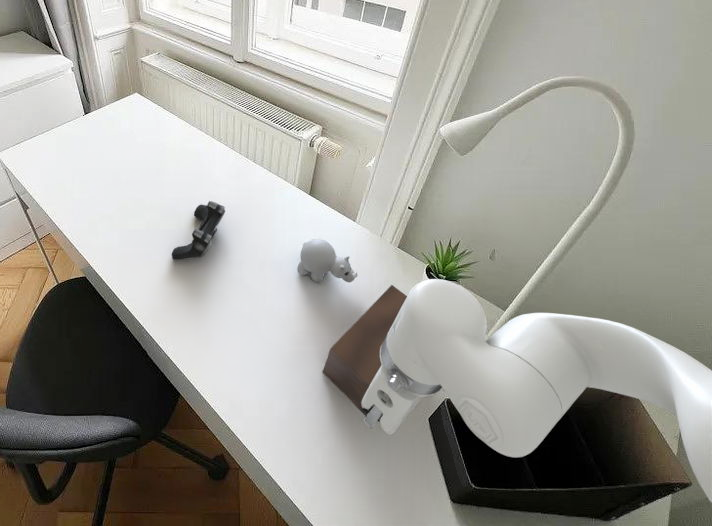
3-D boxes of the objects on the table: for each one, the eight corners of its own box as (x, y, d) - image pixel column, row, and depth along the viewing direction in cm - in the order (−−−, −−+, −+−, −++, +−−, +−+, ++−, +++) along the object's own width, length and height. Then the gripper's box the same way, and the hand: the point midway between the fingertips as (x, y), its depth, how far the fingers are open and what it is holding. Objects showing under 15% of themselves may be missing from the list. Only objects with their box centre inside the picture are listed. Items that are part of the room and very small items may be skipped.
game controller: (193, 275, 91) (211, 257, 84) (167, 258, 90) (183, 239, 83) (218, 222, 102) (236, 202, 95) (195, 207, 102) (212, 186, 95)
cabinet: (423, 344, 75) (439, 320, 69) (366, 416, 66) (379, 394, 61) (380, 310, 81) (391, 284, 75) (322, 371, 72) (330, 348, 66)
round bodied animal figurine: (345, 303, 82) (353, 279, 76) (291, 273, 87) (296, 249, 82) (358, 277, 86) (367, 253, 81) (306, 250, 92) (311, 226, 86)
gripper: (411, 432, 43) (371, 476, 55) (474, 341, 51) (428, 397, 62) (351, 375, 48) (327, 427, 60) (417, 299, 55) (384, 359, 67)
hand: (378, 412), depth 61 cm, fingers closed
